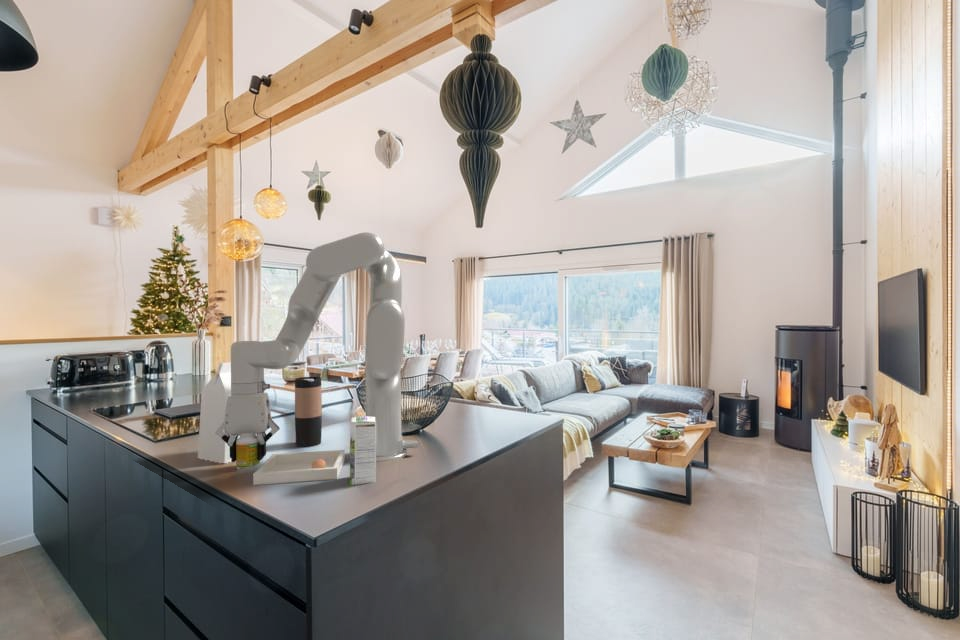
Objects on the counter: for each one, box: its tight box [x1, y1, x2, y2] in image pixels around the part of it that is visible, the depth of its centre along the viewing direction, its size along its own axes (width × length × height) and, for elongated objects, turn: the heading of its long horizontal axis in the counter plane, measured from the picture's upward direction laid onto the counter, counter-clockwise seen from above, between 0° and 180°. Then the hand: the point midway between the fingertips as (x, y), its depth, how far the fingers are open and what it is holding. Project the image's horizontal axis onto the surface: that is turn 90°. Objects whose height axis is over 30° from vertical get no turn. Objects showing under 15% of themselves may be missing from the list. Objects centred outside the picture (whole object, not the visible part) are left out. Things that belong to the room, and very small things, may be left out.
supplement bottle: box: [235, 433, 261, 470], centre depth 111 cm, size 5×5×10 cm
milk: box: [197, 361, 257, 464], centre depth 122 cm, size 12×12×26 cm
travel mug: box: [294, 376, 323, 448], centre depth 132 cm, size 8×8×20 cm
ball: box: [312, 459, 326, 469], centre depth 105 cm, size 3×3×3 cm
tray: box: [252, 449, 346, 486], centre depth 106 cm, size 18×15×3 cm
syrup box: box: [349, 415, 377, 486], centre depth 100 cm, size 6×6×14 cm
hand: (248, 458), depth 111 cm, fingers closed on supplement bottle, 5 cm apart
